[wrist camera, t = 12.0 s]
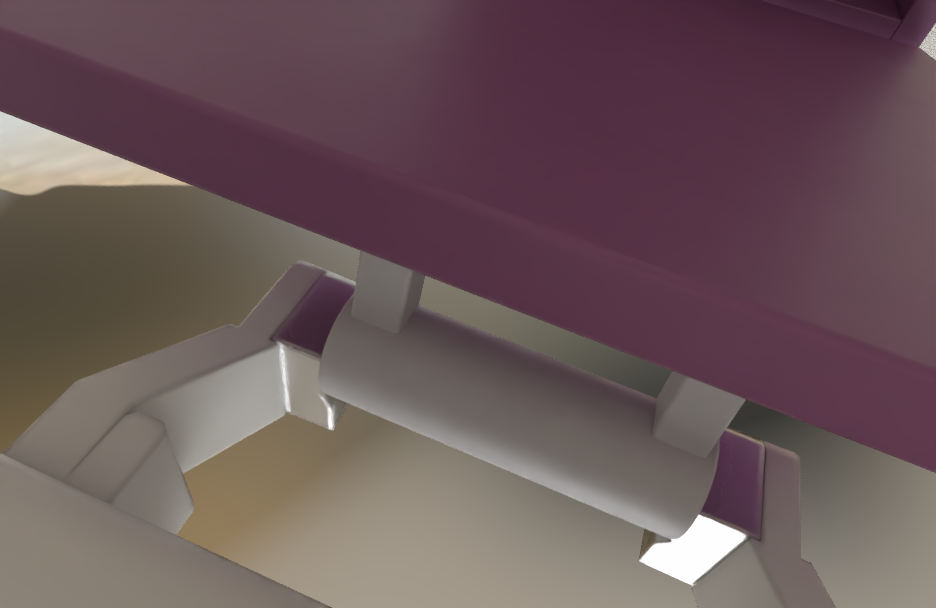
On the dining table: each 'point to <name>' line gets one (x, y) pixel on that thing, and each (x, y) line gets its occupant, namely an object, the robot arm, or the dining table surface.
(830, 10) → the box
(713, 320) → the box file lid
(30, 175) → the dining table surface
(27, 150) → the dining table surface
